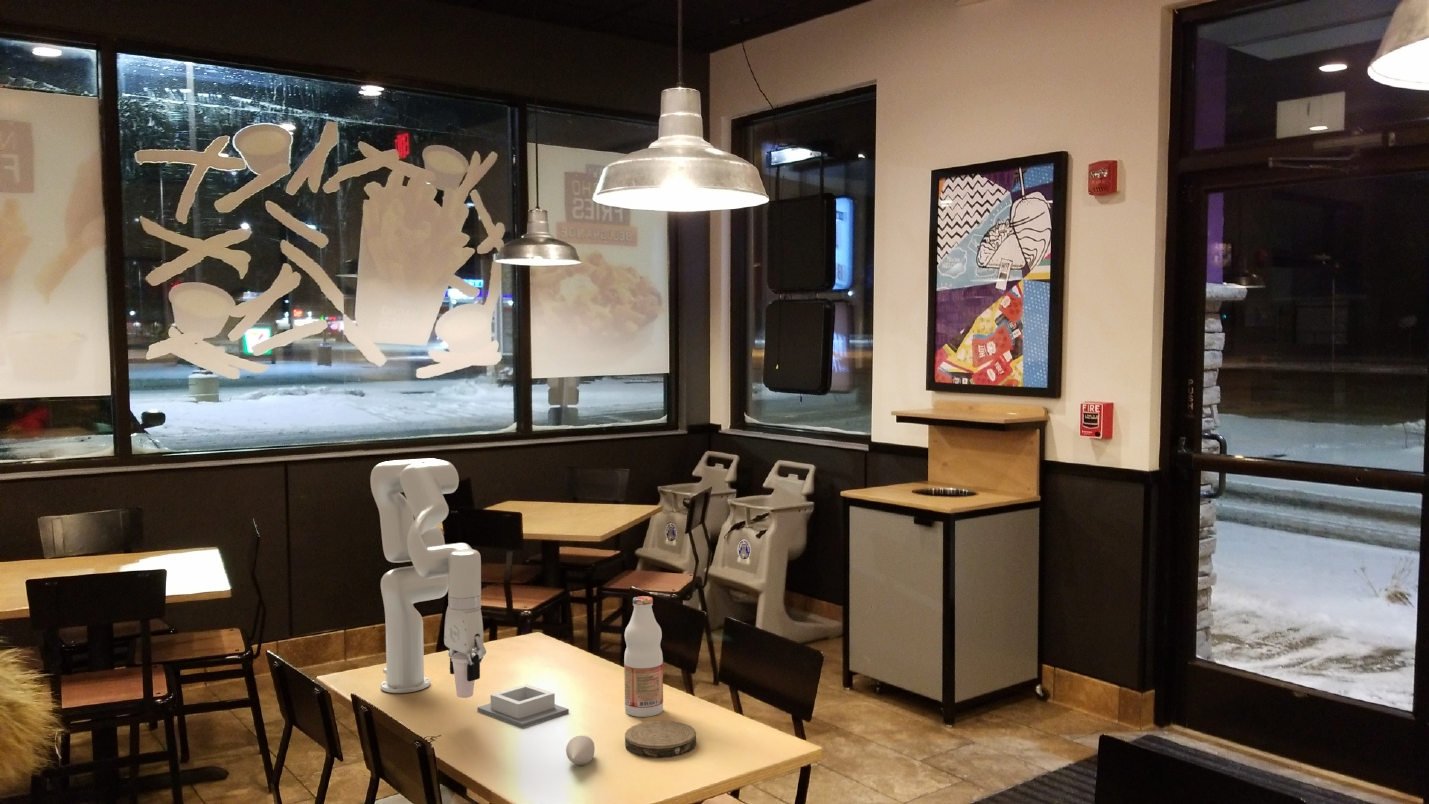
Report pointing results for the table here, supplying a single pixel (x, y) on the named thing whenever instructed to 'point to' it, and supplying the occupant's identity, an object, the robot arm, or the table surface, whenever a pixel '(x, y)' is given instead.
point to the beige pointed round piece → (580, 750)
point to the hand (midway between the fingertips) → (464, 675)
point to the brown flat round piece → (660, 739)
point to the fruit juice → (643, 661)
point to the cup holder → (523, 706)
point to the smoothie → (462, 675)
